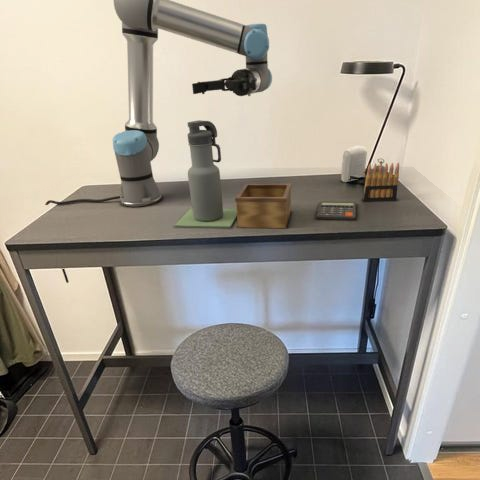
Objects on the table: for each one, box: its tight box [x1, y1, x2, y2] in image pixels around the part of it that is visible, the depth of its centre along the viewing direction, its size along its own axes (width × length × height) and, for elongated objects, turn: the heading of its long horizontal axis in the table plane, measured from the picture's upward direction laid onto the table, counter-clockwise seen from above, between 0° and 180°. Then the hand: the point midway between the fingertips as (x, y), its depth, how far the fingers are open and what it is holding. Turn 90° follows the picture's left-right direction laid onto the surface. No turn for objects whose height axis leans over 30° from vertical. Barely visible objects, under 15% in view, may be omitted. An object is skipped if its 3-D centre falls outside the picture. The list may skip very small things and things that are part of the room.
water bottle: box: [187, 119, 224, 222], centre depth 120 cm, size 10×10×28 cm
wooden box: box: [234, 183, 292, 229], centre depth 122 cm, size 15×15×9 cm
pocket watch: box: [371, 158, 389, 182], centre depth 145 cm, size 8×8×10 cm
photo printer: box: [340, 145, 368, 183], centre depth 153 cm, size 10×4×12 cm, turn 123°
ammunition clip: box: [362, 162, 400, 202], centre depth 131 cm, size 11×2×12 cm, turn 85°
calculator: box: [315, 200, 357, 221], centre depth 127 cm, size 12×1×15 cm
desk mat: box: [174, 208, 237, 229], centre depth 129 cm, size 18×16×1 cm
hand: (213, 88), depth 116 cm, fingers open, 13 cm apart
